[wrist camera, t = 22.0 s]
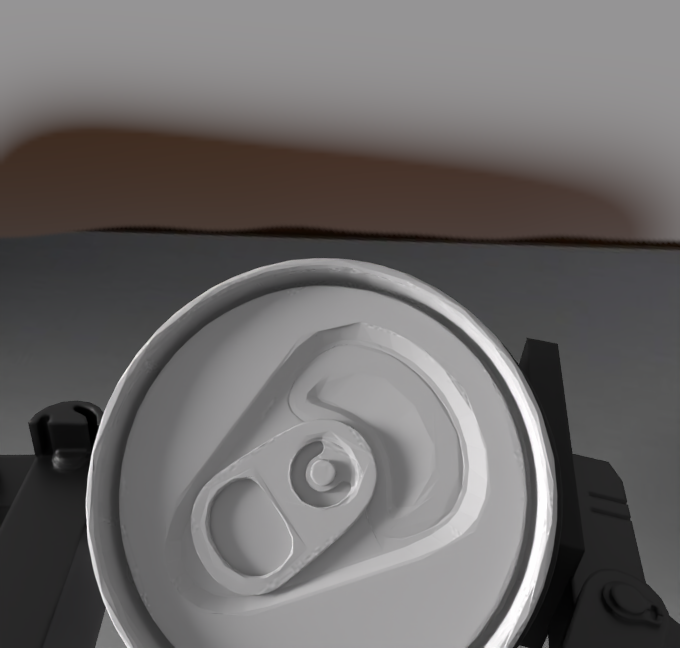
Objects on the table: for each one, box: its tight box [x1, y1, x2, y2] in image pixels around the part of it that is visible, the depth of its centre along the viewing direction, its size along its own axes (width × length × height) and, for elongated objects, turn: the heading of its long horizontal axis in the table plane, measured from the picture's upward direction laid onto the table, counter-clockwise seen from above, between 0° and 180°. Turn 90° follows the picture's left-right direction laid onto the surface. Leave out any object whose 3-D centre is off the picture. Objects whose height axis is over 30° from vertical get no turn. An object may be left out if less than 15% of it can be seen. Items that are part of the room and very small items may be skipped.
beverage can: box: [86, 258, 563, 648], centre depth 13 cm, size 7×7×12 cm
